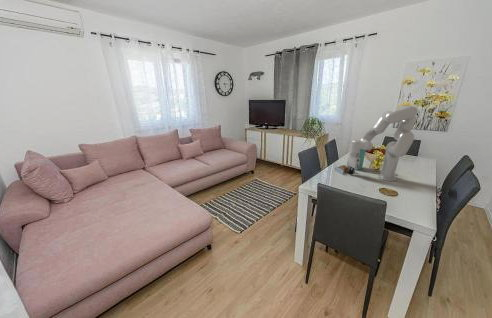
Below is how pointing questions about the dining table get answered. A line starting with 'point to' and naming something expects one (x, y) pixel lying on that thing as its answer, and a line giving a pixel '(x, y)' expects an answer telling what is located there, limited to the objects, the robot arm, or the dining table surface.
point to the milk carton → (361, 158)
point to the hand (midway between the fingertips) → (350, 174)
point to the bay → (340, 170)
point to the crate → (344, 168)
